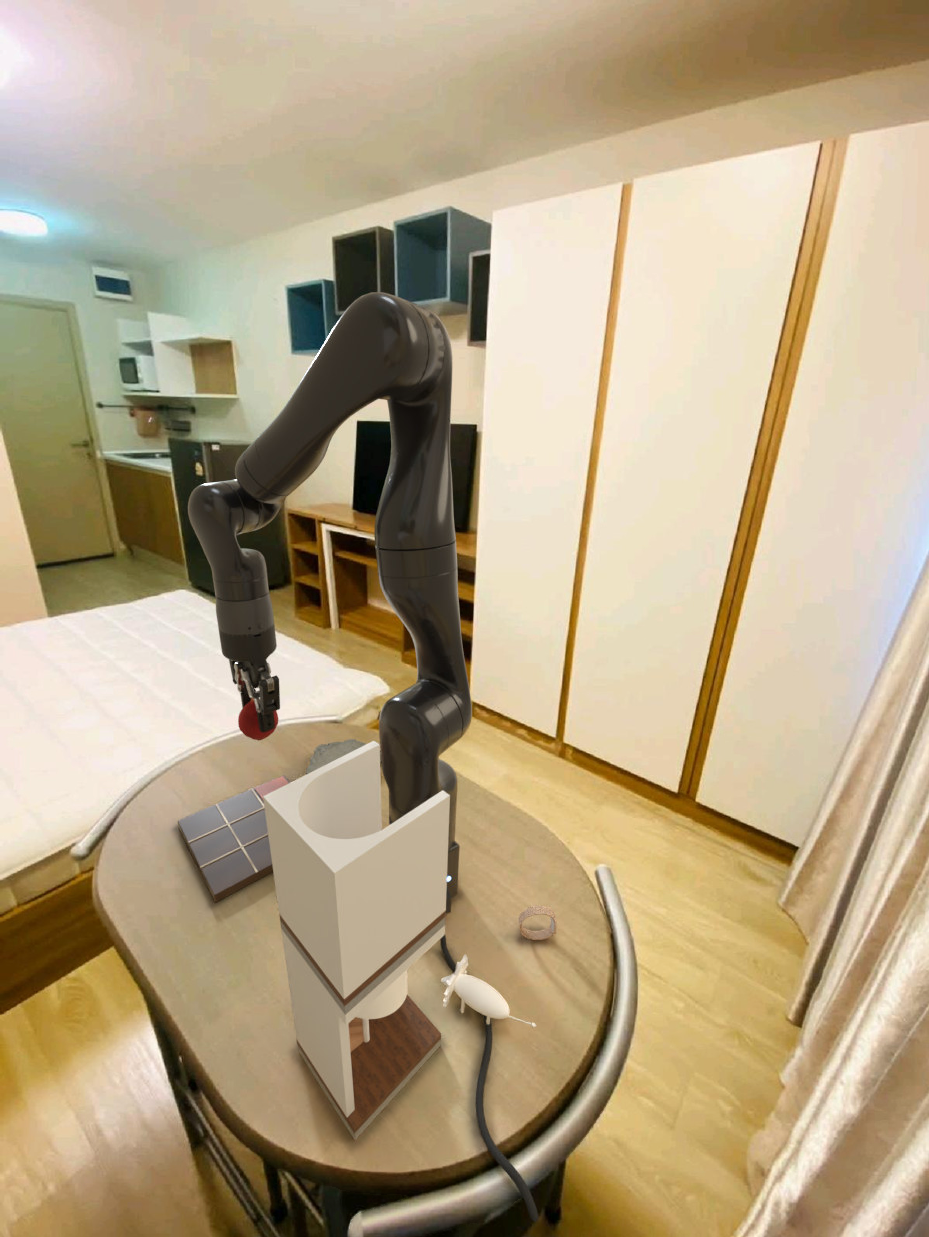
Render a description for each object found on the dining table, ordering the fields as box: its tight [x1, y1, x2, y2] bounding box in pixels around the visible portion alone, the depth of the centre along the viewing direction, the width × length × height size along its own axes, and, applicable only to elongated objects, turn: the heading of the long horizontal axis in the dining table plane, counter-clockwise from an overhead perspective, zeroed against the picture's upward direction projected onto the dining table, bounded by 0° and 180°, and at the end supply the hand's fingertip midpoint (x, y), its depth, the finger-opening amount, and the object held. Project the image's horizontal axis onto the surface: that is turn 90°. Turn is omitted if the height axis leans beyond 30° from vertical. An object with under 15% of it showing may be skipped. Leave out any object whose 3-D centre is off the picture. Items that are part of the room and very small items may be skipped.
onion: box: [237, 698, 279, 741], centre depth 81 cm, size 6×6×8 cm
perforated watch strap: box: [518, 905, 557, 941], centre depth 69 cm, size 3×5×5 cm, turn 91°
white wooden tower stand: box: [263, 740, 450, 1141], centre depth 50 cm, size 11×11×35 cm
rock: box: [305, 738, 382, 775], centre depth 99 cm, size 12×16×5 cm
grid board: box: [176, 774, 291, 903], centre depth 84 cm, size 18×18×2 cm
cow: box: [440, 953, 537, 1028], centre depth 60 cm, size 12×5×5 cm, turn 59°
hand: (258, 720), depth 81 cm, fingers closed on onion, 6 cm apart
